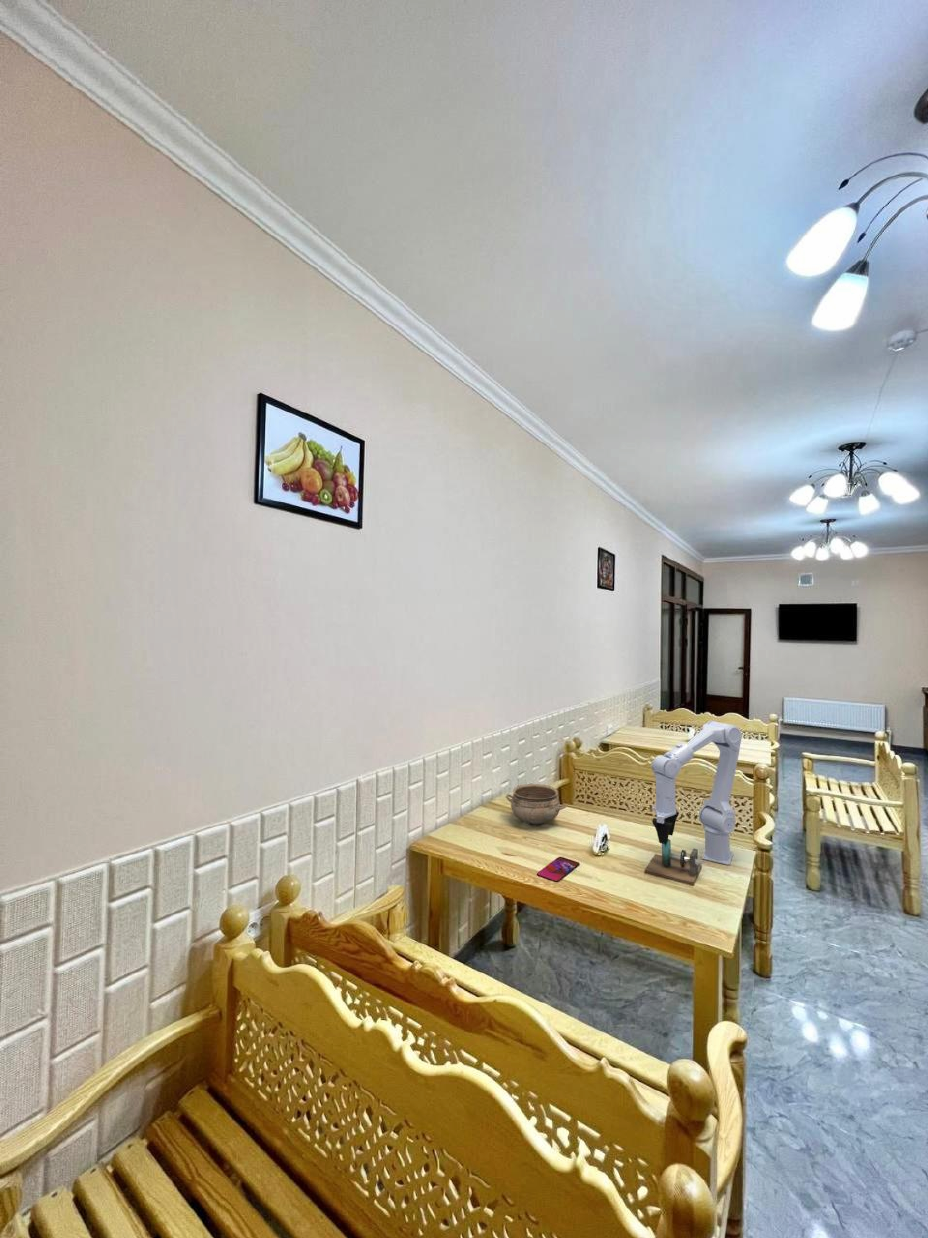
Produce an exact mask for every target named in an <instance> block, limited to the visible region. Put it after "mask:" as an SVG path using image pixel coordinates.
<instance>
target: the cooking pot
mask: <svg viewBox="0 0 928 1238" xmlns="http://www.w3.org/2000/svg"><path fill="white" fill-rule="evenodd" d="M512 792H513V794H510V793H509V794H506V796H505V798H506V800H507V801H508V802H509V803H510V807H511V810H512V812H513V814H514V815H515V816H516V817H517V819H519V820H520V821H522V822H525V823H526V824H527V825H529V826H533V827H534V826H535V827H538V826H539V827H541V826H543V825H545V824H548V823H549V822H552V821H554V819H555V818H557V817H558V815H559V814H560V812H561V810H564V809H566V808H567V807H568V806H567V804H560V803H561V802H560V800H559V796H558V795H559V790H558V789H556V788H555V787H552V786H550V785H547V784H546V785H545V784H540V783H539V784H538V783H527V784H521V785H517V786H516V787H514V788H512Z"/></svg>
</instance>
